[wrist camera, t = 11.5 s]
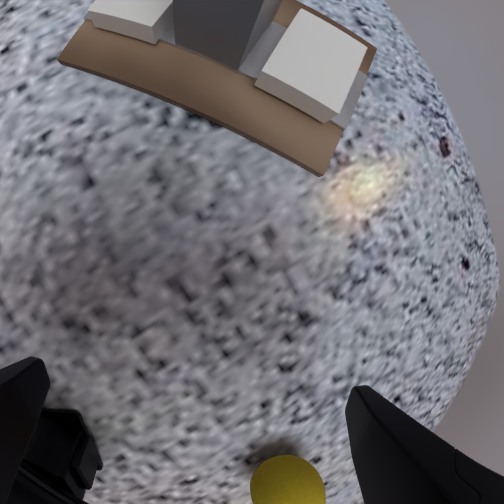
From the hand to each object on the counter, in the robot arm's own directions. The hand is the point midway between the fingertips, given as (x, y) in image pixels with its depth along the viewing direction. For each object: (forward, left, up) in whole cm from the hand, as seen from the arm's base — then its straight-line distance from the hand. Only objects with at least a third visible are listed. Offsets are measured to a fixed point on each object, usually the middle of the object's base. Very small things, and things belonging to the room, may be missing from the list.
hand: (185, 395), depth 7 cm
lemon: (+5, -16, -12) cm, 21 cm away
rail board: (+3, +17, -12) cm, 21 cm away
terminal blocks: (+3, +17, -11) cm, 20 cm away
